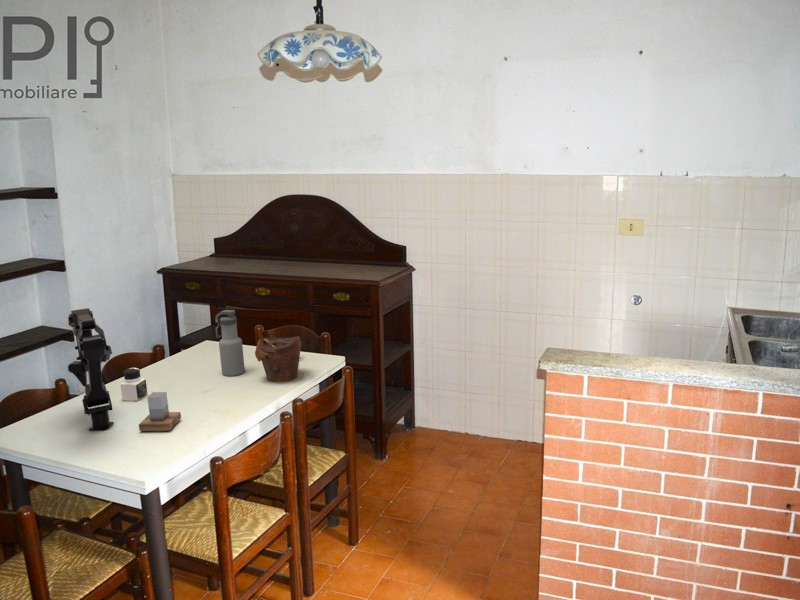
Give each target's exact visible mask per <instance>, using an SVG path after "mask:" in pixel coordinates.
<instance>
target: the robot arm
mask: <svg viewBox="0 0 800 600" xmlns="http://www.w3.org/2000/svg"><path fill="white" fill-rule="evenodd" d="M67 322H68V326H70V328H71V329H72V333H73V335H74V337H75V341H76V346H74V350H77V353H78V354H77V355H78V356H77V357H76V360H75V361H72V362H71V363H69V364H68V366H67V370H68V371H67V372H69V373H71V374H73V375H74V377H76V378H77V380H78V381H79V383H80V384H81V385H82V387H84V395H83V398H82V400H81V401H82V405H83V406H82V407H83V410H84V415H87V416H91V417H90V418H91V425H92V426H90V427H89V428H88V431H107V430H108V429H109V428H110V427H112V425H113V424H114V423H115V422H114V421H110V415H109V411H113V404H112V400H111V395H110V392H109V390H107V388H106V384H105V382H104V381H103V375H102V363H106V362H107V361H109V360H110V358H111V355H112V354H113V351H112V347H111V345H108V344H107V340H106V336H105V332H104V329H102V328H101V327H100V326H99V325H98V324H97V323H96V318H95V317H94V314H93V311H92V310H91V309H90V308H89V307H88V308H87V307H86V308H81V309H74V310H71V311H70V313H69V314H68V317H67ZM93 330H94V332H96V333H97V334H95V335H93ZM87 374H88V376H87ZM87 378H88V379H87Z"/></svg>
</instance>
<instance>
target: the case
mask: <svg viewBox="0 0 800 600" xmlns="http://www.w3.org/2000/svg"><path fill="white" fill-rule="evenodd" d="M255 347H256V348H255V351H254V354H255V357H256V359H257V361H258V362H262V366H263V370H264V372H265V376H266V379H267V380H268V381H270V382H276V383H277V382H280V383H281V382H289V381H292V380H294V379H296V378H297V377H298V373H299V364H300V359H301V358H300V356H301V350H302V341H301V338H300V336H298V335H297V336H291V337H285V338H282V337H263V338H260V339H259V340H258V341H257V343H256V346H255Z"/></svg>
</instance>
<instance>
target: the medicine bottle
mask: <svg viewBox="0 0 800 600" xmlns="http://www.w3.org/2000/svg"><path fill="white" fill-rule="evenodd" d="M123 378H124V381H123V382H121V383H120V384H119V385H120V391H121V398H122V399H121V400H122V401H129V402H131V401H132V402H139V401H140V400H142V399H143V398H145V397H146V396H149V395H148V387H147V380H146V378H143V377H142V378H141V371H140V369H139V368H137V367H130V368H127V369H125V370H124V371H123Z"/></svg>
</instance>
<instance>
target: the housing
mask: <svg viewBox="0 0 800 600" xmlns="http://www.w3.org/2000/svg"><path fill="white" fill-rule="evenodd" d="M146 398H147V405H148V412H149V413H148V415H149V414H150V421H164V420H165V419H166V418H167V417H168V416H169V412H170V411H169V402H168V394H167V391H156V392H155V391H152V392H151V393H150V394H149V395H147V397H146Z"/></svg>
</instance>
